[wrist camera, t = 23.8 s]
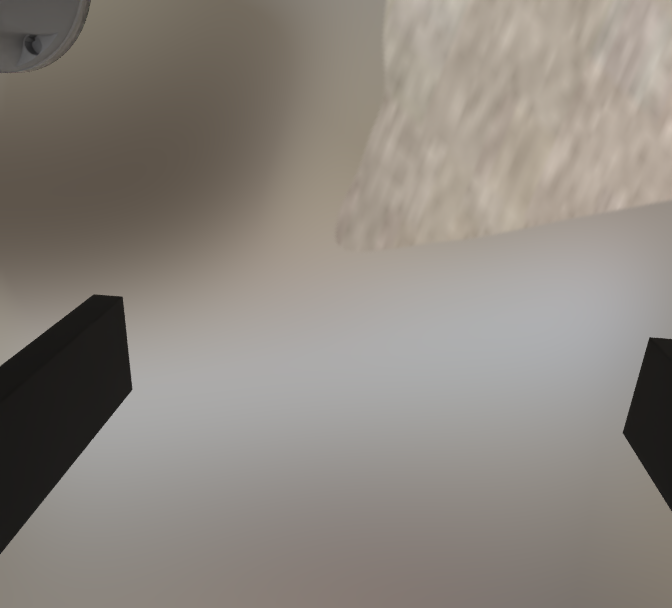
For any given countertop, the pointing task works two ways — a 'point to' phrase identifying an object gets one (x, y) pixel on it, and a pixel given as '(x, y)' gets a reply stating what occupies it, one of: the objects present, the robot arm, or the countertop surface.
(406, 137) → the countertop surface
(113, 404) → the robot arm
